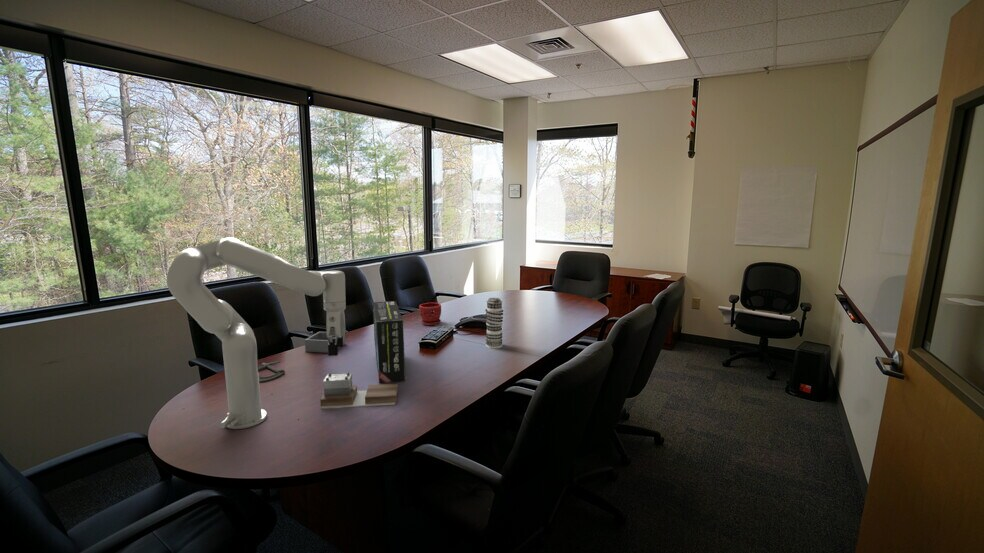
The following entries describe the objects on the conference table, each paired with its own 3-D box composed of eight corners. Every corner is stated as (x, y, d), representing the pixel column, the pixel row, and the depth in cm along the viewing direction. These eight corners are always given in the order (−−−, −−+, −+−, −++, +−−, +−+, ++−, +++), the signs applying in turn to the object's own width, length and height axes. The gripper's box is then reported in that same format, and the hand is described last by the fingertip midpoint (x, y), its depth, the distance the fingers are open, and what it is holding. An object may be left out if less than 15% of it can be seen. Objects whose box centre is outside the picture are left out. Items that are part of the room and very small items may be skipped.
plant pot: (433, 319, 279) (433, 301, 277) (445, 324, 269) (445, 304, 267) (415, 323, 271) (415, 304, 269) (427, 327, 261) (426, 308, 259)
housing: (349, 395, 162) (349, 378, 161) (324, 396, 161) (323, 379, 160) (352, 388, 168) (351, 372, 167) (327, 389, 167) (326, 373, 166)
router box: (374, 355, 213) (372, 301, 208) (397, 353, 216) (396, 300, 212) (378, 384, 179) (376, 320, 175) (406, 381, 182) (404, 318, 178)
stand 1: (352, 404, 160) (352, 397, 160) (320, 406, 159) (320, 399, 158) (357, 391, 171) (356, 385, 171) (327, 393, 170) (327, 387, 169)
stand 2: (396, 402, 163) (395, 395, 162) (365, 404, 161) (365, 397, 161) (398, 389, 173) (397, 383, 173) (369, 391, 172) (368, 385, 171)
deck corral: (332, 352, 216) (331, 341, 215) (305, 351, 218) (304, 339, 217) (345, 343, 230) (344, 332, 229) (319, 342, 231) (319, 331, 230)
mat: (397, 389, 174) (397, 388, 174) (395, 404, 162) (395, 403, 162) (328, 393, 171) (328, 392, 171) (320, 408, 158) (320, 407, 158)
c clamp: (238, 372, 192) (238, 366, 191) (279, 362, 204) (279, 357, 204) (254, 386, 178) (254, 379, 177) (298, 374, 190) (297, 368, 190)
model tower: (497, 349, 223) (497, 301, 219) (481, 346, 227) (482, 299, 223) (506, 345, 230) (506, 298, 226) (491, 342, 235) (491, 296, 231)
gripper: (341, 310, 151) (342, 358, 154) (349, 300, 168) (350, 343, 171) (318, 310, 150) (319, 359, 153) (329, 300, 167) (330, 343, 170)
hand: (336, 350), depth 162 cm, fingers open, 9 cm apart
